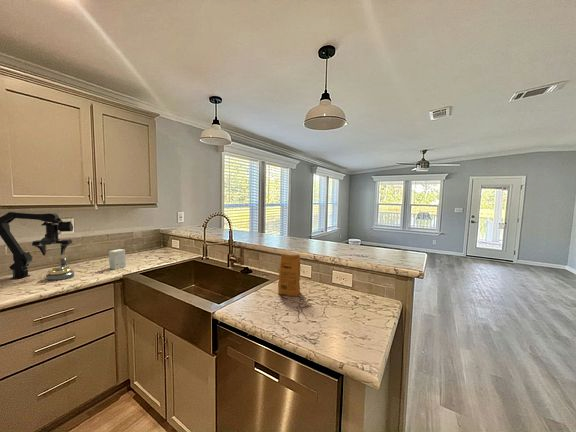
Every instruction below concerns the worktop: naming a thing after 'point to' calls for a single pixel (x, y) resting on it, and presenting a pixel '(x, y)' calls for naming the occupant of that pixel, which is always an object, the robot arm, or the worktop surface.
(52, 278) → the housing
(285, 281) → the coffee package
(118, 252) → the small box
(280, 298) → the worktop surface
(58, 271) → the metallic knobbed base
